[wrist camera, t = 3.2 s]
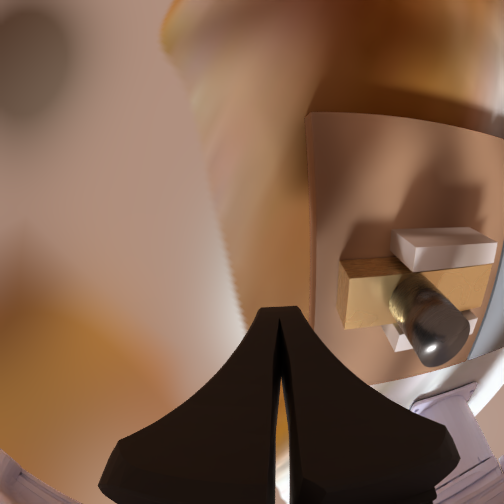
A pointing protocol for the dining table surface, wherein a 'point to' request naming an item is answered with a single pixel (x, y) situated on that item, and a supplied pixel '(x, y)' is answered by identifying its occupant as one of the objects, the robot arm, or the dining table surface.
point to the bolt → (412, 302)
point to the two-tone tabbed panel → (402, 225)
